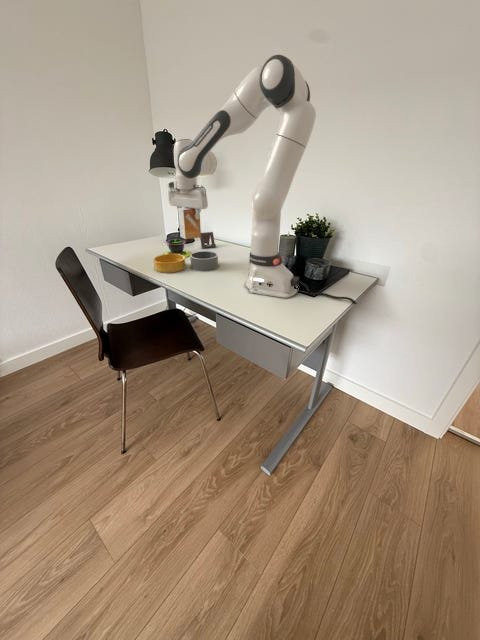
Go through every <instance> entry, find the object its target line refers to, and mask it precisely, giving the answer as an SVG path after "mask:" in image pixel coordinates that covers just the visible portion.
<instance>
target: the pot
mask: <svg viewBox="0 0 480 640" xmlns="http://www.w3.org/2000/svg"><path fill="white" fill-rule="evenodd" d="M189 259H190V268H191V269H192V270H194V271H197V272H210V271H215V270H216V269H218V268H219V255H218V253H217V252H215V251H211V250H199V251H195V252H192V253H190V256H189Z"/></svg>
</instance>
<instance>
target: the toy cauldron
mask: <svg viewBox="0 0 480 640" xmlns="http://www.w3.org/2000/svg"><path fill="white" fill-rule="evenodd" d="M171 237H176V238H174V239H173V238H172V239H170V237H168V239H169V240H167V241H166V242H165V244H167V245H166V246H167V247H168V249H169V251H167V252H164V254H179V255H183V256H184V257H185V258H187V257H190V255H191V252H190V251H188V250H184V249H185V244H186V243H187V241H186V240H185V239H180V238H179V239H178V234H176V235H174V234H171Z"/></svg>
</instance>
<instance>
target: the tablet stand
mask: <svg viewBox="0 0 480 640" xmlns="http://www.w3.org/2000/svg"><path fill="white" fill-rule="evenodd" d="M214 236H215V235H214V232H213V231H207V232H205V231H204V232H201V238H199V240H200V245H201V249H211V248H216V247H217V244H216V242H215V237H214ZM210 242H211V243H210Z"/></svg>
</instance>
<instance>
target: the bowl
mask: <svg viewBox="0 0 480 640" xmlns="http://www.w3.org/2000/svg"><path fill="white" fill-rule="evenodd" d="M152 260H153V265H154V270H155V271H157V272H160V273H165V274H166V273H167V274H168V273H177V272H181V271H183V270H184V269H185V268H186V265H187V264H186V257H184V256H183V255H179V254H165V253H163V254H159V255H156V256H155V257H153V259H152Z"/></svg>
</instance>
